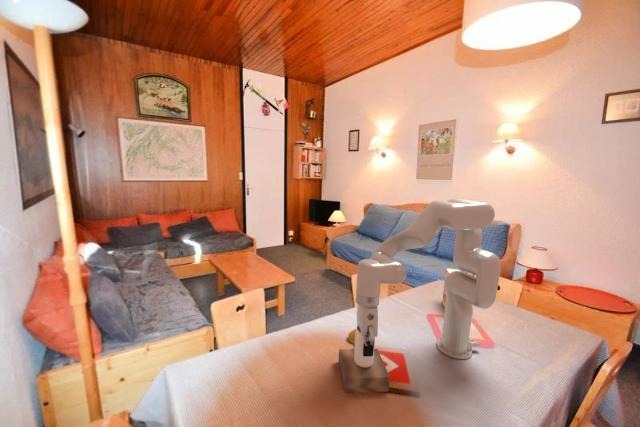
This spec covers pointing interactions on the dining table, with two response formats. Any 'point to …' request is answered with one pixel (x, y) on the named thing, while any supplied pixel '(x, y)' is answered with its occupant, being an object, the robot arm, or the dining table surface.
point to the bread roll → (352, 336)
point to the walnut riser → (363, 373)
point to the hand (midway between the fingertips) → (364, 345)
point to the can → (361, 351)
